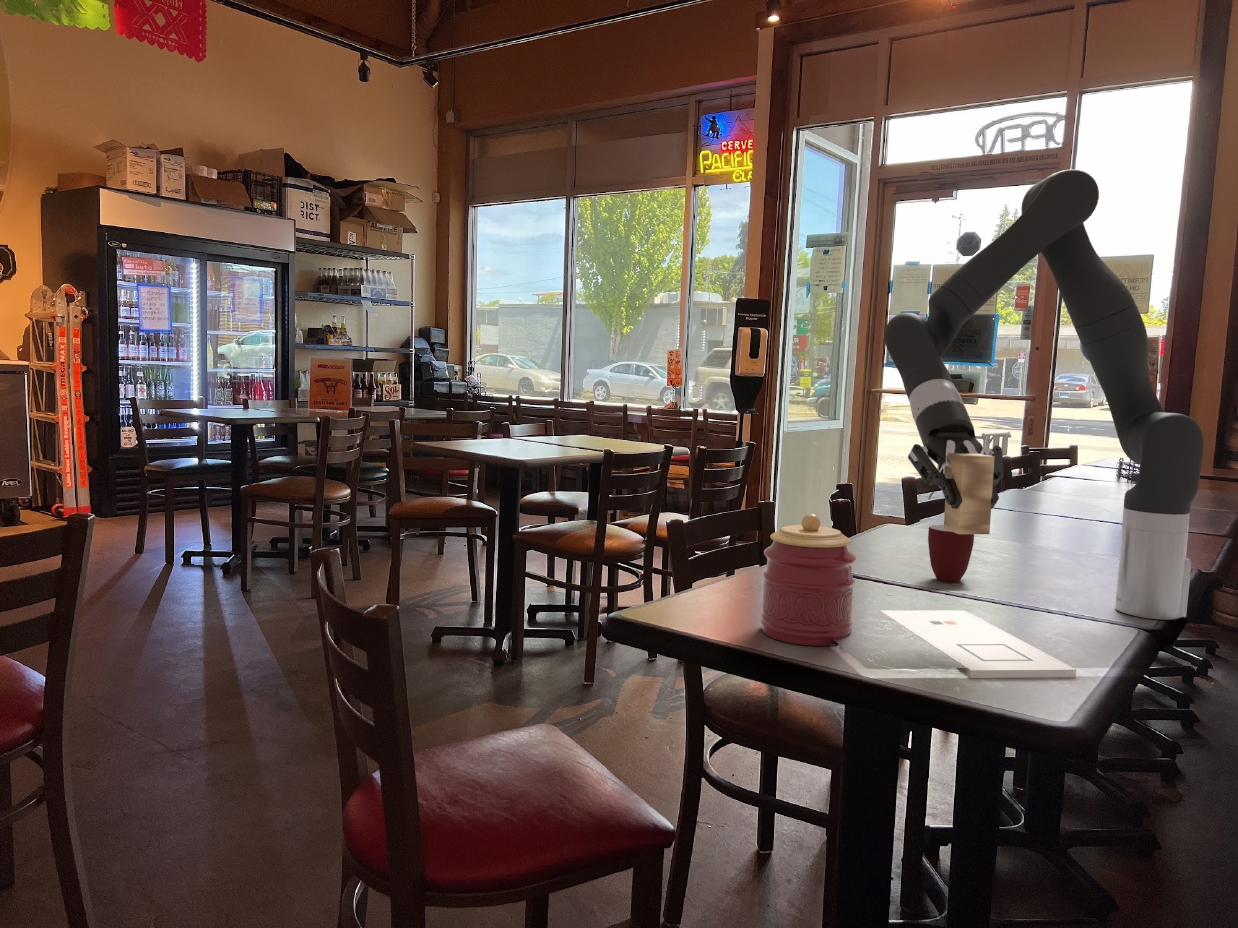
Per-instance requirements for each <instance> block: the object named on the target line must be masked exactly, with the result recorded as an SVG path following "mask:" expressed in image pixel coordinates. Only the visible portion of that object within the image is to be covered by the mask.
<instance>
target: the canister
mask: <svg viewBox="0 0 1238 928" xmlns="http://www.w3.org/2000/svg"><path fill="white" fill-rule="evenodd" d="M770 539H771V540H772V543H771V545H769V546H768V547H766V548H765V549H764V550H763V554H764V555H765V557H766V559H767V560H766V561H767V562H766V568H765V570H764V571H763V573H762V576H763V592H762V593H763V594H762V611H761V613H760V617H761V618H760V622H761V627H762V630H761V631H762V632H763V633H764V634H765V635H767V636H768V637H770V638H772V639H774V640H777V641H780V642H784V643H788V644H794V645H802V646H812V647H813V646H814V647H817V646H818V647H820V646H822V647H825V646H827V647H828V646H834V645H839V642H838V641H836V640H839V639H843V638H846V637H848V636H849V635H850V634H851V632H852V630H853V626H852V625H853V619H852V613H853V597H854V596H853V595H854V594H853V593H854V584H855V578H854V577H853V574H852V572H853V571H852V567H853V566H852V565H853V564H854V563H855V561H856V560H857V557H856V555H855V554H854V553H853V552H852V551H850V550H849V547H848V546H849V545H851V542H852V541H851V540H852V539H850V538H849V537H847V536H846V535H845V534H843V533H842V532H841V530H839V529H836V528H831V527H828V526H827V527H826V526H821V519H820V517H819V516H818V515H816V514H814V513H808V514H805V515H804V516H803V517H802V520H801V524H795V525H785V526H781V528H780V529H779V530H776V531H775V532H772V534H770Z"/></svg>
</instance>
